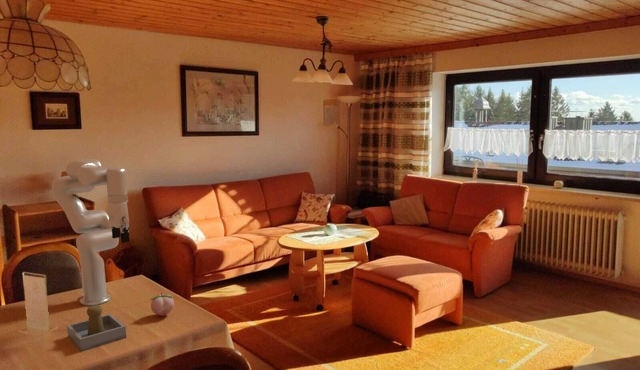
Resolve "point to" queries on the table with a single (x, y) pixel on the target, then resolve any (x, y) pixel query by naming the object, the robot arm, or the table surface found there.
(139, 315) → the table surface
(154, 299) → the decorative fruit
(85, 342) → the box
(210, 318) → the table surface
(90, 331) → the cork
